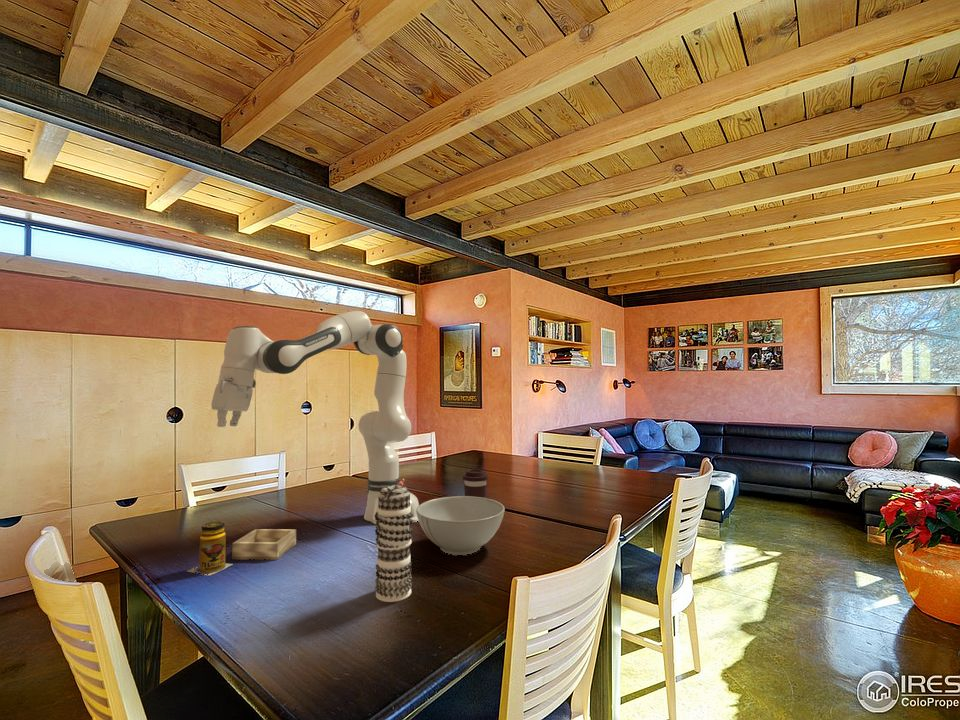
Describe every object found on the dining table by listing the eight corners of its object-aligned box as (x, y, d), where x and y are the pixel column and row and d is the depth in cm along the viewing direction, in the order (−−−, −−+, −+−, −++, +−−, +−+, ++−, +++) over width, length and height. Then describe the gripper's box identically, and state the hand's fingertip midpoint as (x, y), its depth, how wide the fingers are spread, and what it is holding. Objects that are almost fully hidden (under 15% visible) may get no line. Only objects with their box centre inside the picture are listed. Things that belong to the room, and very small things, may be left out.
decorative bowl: (399, 558, 126) (399, 515, 126) (439, 528, 151) (439, 493, 151) (487, 572, 117) (487, 525, 117) (515, 538, 142) (514, 500, 142)
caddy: (296, 544, 137) (296, 529, 137) (277, 559, 125) (277, 543, 125) (254, 543, 137) (255, 529, 138) (232, 559, 125) (232, 543, 126)
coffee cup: (465, 505, 179) (465, 468, 180) (489, 506, 178) (489, 468, 179) (460, 512, 169) (460, 473, 170) (486, 513, 168) (486, 473, 169)
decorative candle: (377, 606, 99) (378, 493, 100) (370, 588, 108) (371, 485, 109) (417, 598, 103) (417, 489, 104) (407, 581, 111) (408, 481, 112)
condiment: (210, 576, 115) (211, 529, 115) (185, 572, 117) (187, 526, 118) (233, 565, 122) (234, 521, 122) (210, 561, 124) (211, 518, 125)
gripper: (235, 377, 120) (225, 428, 118) (257, 383, 140) (250, 426, 138) (210, 374, 119) (200, 426, 117) (236, 380, 139) (228, 424, 137)
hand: (227, 426), depth 128 cm, fingers open, 8 cm apart
